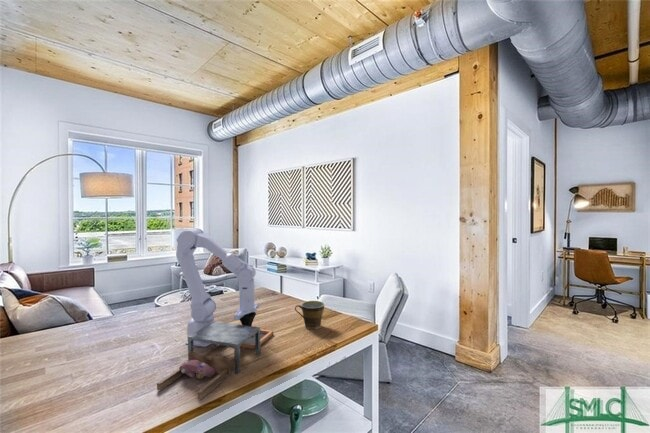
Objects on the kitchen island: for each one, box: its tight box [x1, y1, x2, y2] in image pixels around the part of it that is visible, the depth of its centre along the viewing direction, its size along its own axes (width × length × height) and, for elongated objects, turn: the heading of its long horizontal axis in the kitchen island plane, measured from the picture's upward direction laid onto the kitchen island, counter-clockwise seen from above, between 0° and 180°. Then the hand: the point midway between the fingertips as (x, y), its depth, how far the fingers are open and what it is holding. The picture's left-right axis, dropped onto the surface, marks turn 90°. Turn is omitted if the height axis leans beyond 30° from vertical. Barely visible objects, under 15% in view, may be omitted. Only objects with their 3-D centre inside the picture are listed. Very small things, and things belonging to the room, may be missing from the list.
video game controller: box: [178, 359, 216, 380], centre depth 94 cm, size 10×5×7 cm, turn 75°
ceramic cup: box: [294, 300, 325, 331], centre depth 133 cm, size 13×10×10 cm
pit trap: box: [240, 328, 274, 351], centre depth 121 cm, size 13×14×2 cm
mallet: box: [156, 334, 255, 401], centre depth 101 cm, size 15×34×6 cm, turn 163°
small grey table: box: [187, 320, 261, 375], centre depth 105 cm, size 19×14×10 cm
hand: (247, 332), depth 118 cm, fingers closed
